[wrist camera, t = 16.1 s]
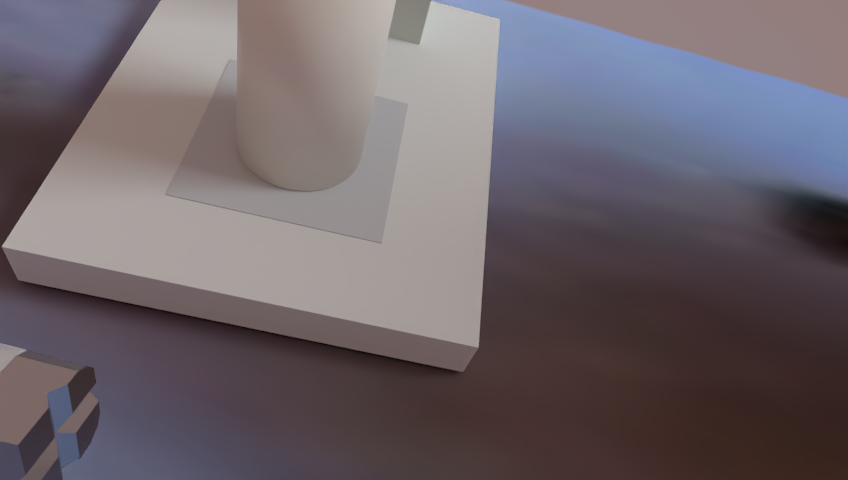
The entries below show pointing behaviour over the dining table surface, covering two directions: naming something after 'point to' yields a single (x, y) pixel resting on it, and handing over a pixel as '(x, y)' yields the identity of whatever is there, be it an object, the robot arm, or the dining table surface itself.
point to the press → (280, 194)
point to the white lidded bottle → (307, 86)
